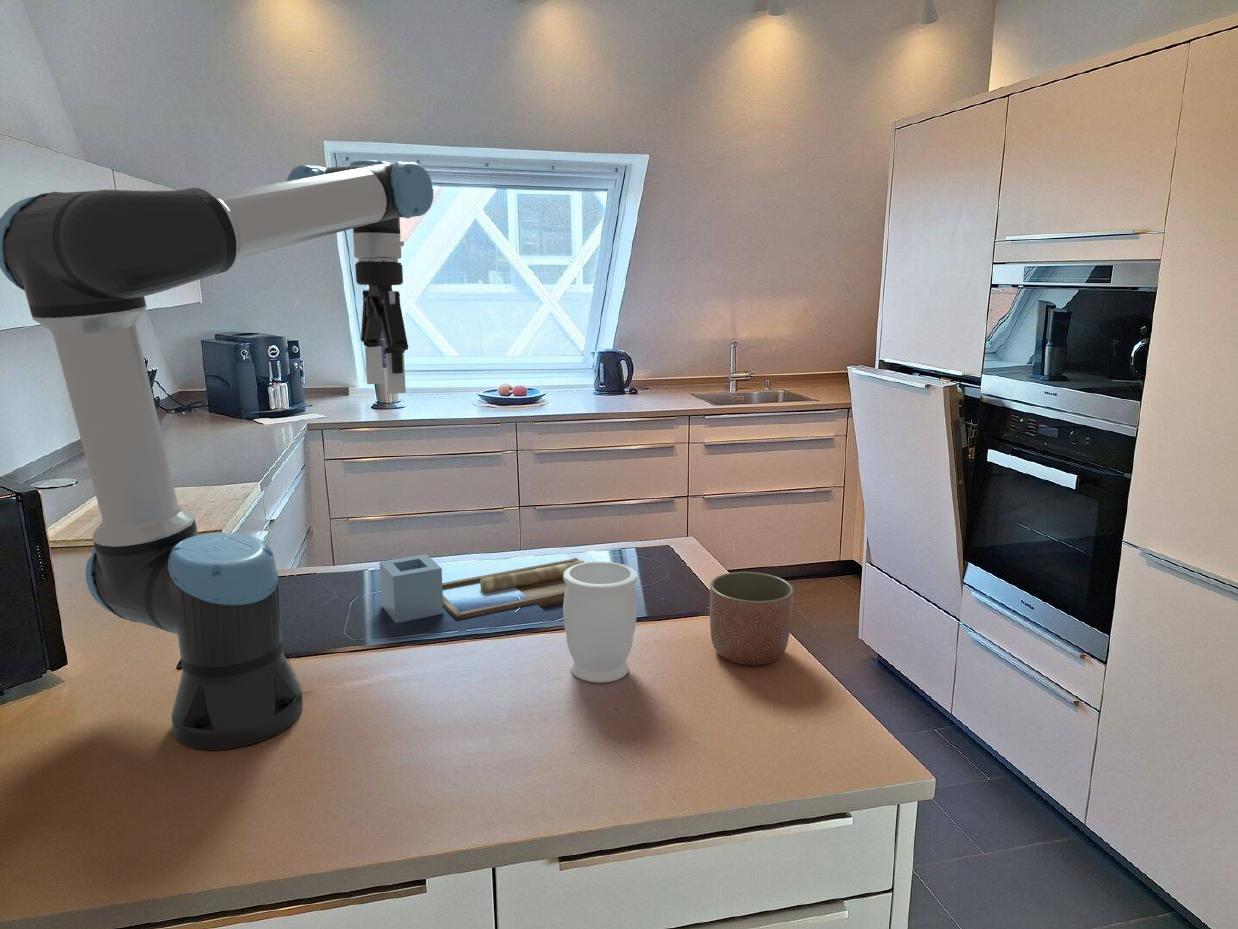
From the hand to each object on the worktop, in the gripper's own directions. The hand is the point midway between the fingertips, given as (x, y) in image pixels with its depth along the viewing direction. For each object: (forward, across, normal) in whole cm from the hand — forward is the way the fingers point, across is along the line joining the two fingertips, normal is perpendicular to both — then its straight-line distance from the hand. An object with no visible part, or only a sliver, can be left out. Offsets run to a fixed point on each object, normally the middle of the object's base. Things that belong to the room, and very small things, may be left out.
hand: (385, 388), depth 140 cm
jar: (+37, -46, -17) cm, 61 cm away
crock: (+37, -13, +1) cm, 39 cm away
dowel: (+35, -13, -12) cm, 39 cm away
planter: (+37, -52, -39) cm, 75 cm away
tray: (+37, -13, -19) cm, 43 cm away
